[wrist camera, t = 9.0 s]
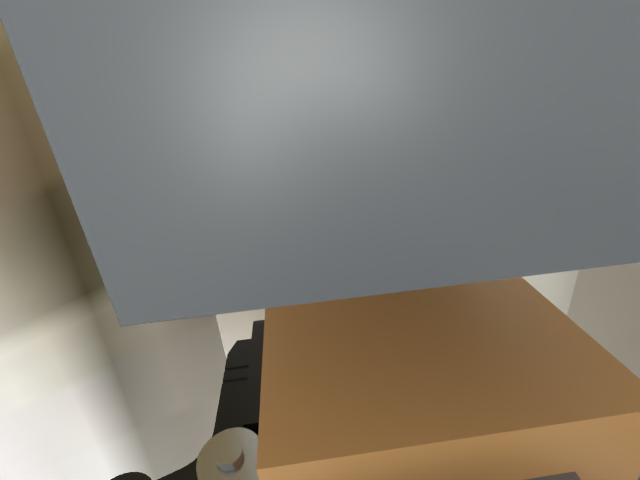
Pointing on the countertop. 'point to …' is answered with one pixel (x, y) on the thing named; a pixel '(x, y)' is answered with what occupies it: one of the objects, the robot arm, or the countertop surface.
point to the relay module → (443, 390)
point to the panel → (561, 290)
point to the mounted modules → (335, 143)
